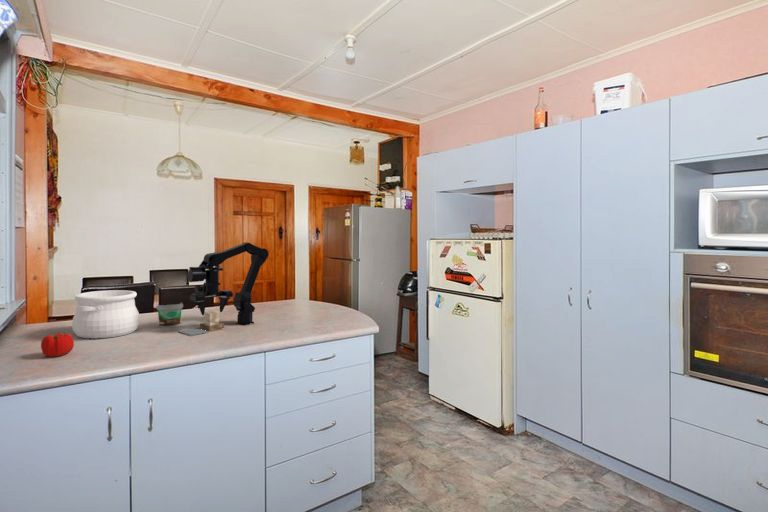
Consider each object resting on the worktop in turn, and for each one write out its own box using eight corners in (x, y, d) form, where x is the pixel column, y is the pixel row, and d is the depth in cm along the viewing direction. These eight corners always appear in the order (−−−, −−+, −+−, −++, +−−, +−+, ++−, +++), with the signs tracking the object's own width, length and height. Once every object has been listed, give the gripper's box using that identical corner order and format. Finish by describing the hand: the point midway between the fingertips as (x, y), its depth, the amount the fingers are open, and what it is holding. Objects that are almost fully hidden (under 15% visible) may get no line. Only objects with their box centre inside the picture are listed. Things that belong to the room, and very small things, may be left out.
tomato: (79, 351, 150) (78, 331, 149) (60, 359, 141) (60, 338, 140) (53, 351, 149) (53, 331, 149) (33, 358, 140) (32, 337, 140)
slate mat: (195, 329, 187) (195, 327, 187) (208, 332, 182) (208, 331, 181) (178, 332, 181) (178, 331, 181) (191, 336, 175) (191, 334, 175)
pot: (104, 343, 161) (104, 299, 160) (55, 338, 166) (54, 296, 165) (153, 328, 187) (153, 291, 186) (109, 324, 192) (109, 288, 191)
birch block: (213, 327, 192) (213, 310, 191) (219, 328, 189) (219, 312, 189) (204, 329, 188) (204, 312, 187) (210, 330, 185) (210, 313, 185)
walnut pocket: (214, 326, 194) (214, 321, 194) (224, 328, 189) (224, 323, 189) (199, 329, 187) (199, 323, 187) (208, 331, 183) (208, 326, 183)
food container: (162, 327, 188) (162, 306, 188) (156, 325, 192) (156, 304, 192) (188, 323, 198) (188, 303, 198) (182, 321, 202) (182, 301, 201)
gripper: (219, 277, 199) (219, 308, 200) (183, 280, 184) (183, 314, 185) (233, 279, 193) (233, 311, 194) (196, 282, 178) (196, 317, 179)
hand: (212, 313), depth 188 cm, fingers open, 9 cm apart
